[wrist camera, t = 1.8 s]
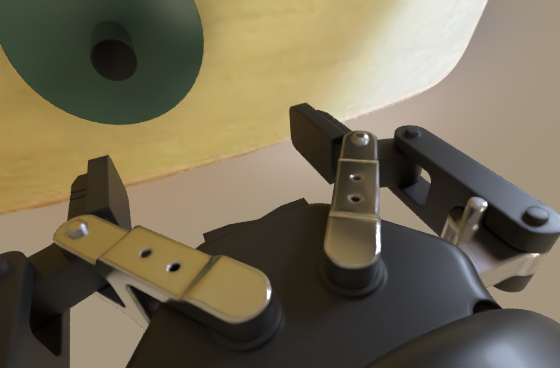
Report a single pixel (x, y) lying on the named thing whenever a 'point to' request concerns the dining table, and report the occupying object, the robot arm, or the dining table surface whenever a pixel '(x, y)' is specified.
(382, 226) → the robot arm
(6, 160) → the dining table surface
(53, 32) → the lid
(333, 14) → the dining table surface
